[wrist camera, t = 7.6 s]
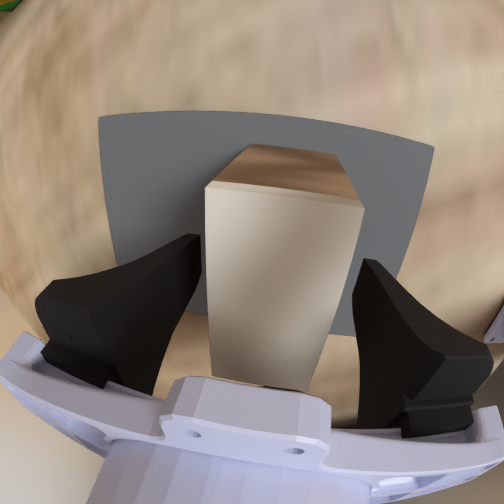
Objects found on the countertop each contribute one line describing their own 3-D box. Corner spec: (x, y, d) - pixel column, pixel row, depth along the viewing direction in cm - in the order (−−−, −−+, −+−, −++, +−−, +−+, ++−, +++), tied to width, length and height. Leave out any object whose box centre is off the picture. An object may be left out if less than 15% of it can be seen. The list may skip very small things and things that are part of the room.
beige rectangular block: (335, 154, 13) (364, 208, 7) (309, 289, 17) (306, 390, 11) (251, 143, 13) (204, 187, 7) (243, 280, 17) (212, 375, 11)
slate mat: (431, 145, 12) (434, 147, 11) (369, 333, 18) (370, 337, 18) (102, 116, 13) (98, 117, 13) (127, 294, 20) (125, 297, 20)
